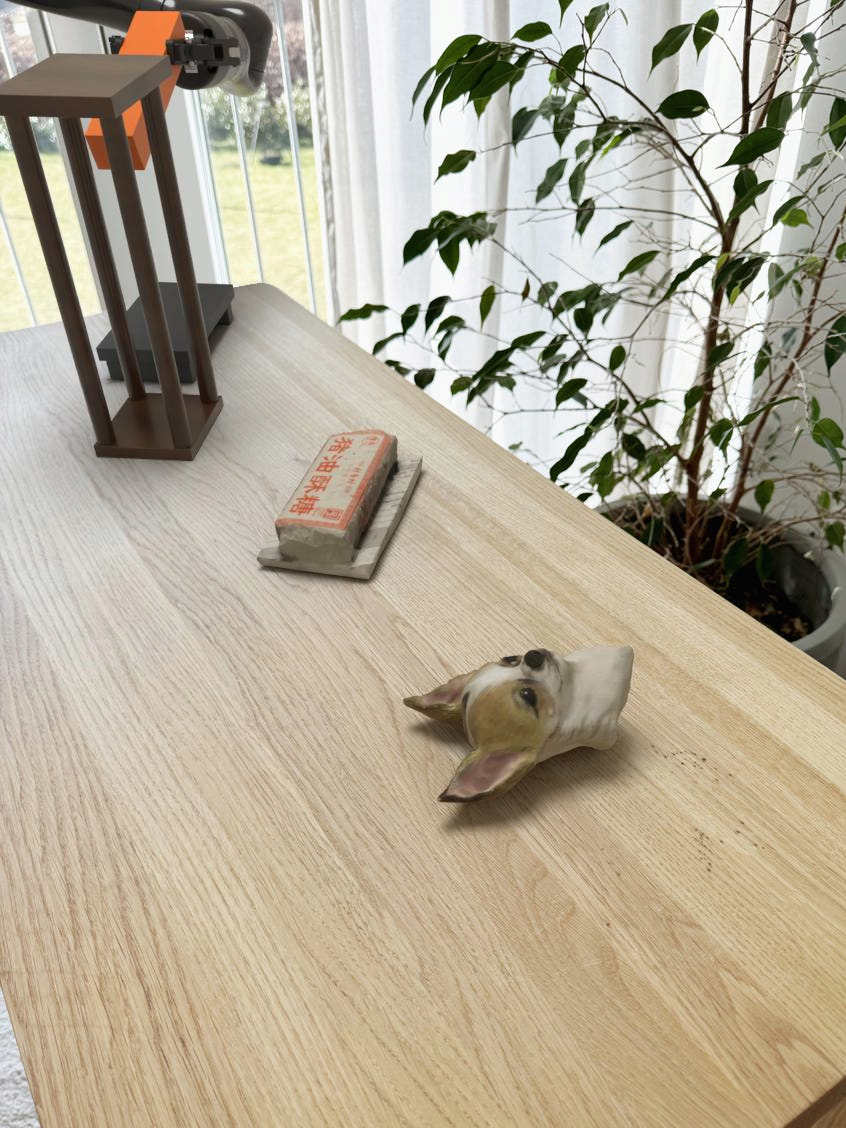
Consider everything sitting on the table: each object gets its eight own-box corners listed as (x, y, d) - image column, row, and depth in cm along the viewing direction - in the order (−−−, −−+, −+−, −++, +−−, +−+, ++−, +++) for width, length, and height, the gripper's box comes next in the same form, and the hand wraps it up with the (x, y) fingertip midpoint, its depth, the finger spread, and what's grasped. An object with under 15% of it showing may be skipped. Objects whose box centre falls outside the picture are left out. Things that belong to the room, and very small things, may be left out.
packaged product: (367, 535, 79) (248, 521, 81) (372, 584, 83) (257, 569, 84) (422, 424, 93) (319, 413, 94) (424, 469, 96) (325, 458, 97)
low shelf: (158, 313, 123) (150, 281, 120) (238, 316, 122) (233, 284, 119) (104, 382, 109) (95, 347, 106) (194, 386, 109) (187, 351, 106)
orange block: (147, 45, 104) (136, 10, 101) (189, 46, 104) (179, 11, 101) (98, 169, 94) (84, 135, 91) (144, 170, 94) (132, 136, 91)
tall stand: (139, 392, 107) (55, 52, 86) (230, 396, 107) (169, 55, 86) (90, 461, 97) (-19, 94, 76) (191, 466, 96) (110, 97, 75)
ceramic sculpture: (669, 683, 61) (431, 746, 58) (660, 776, 67) (444, 837, 64) (603, 580, 69) (390, 632, 66) (600, 672, 74) (405, 722, 72)
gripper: (264, 89, 114) (220, 97, 100) (142, 87, 115) (80, 94, 101) (258, 12, 111) (211, 7, 96) (131, 10, 111) (65, 5, 97)
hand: (144, 52), depth 98 cm, fingers closed on orange block, 4 cm apart
